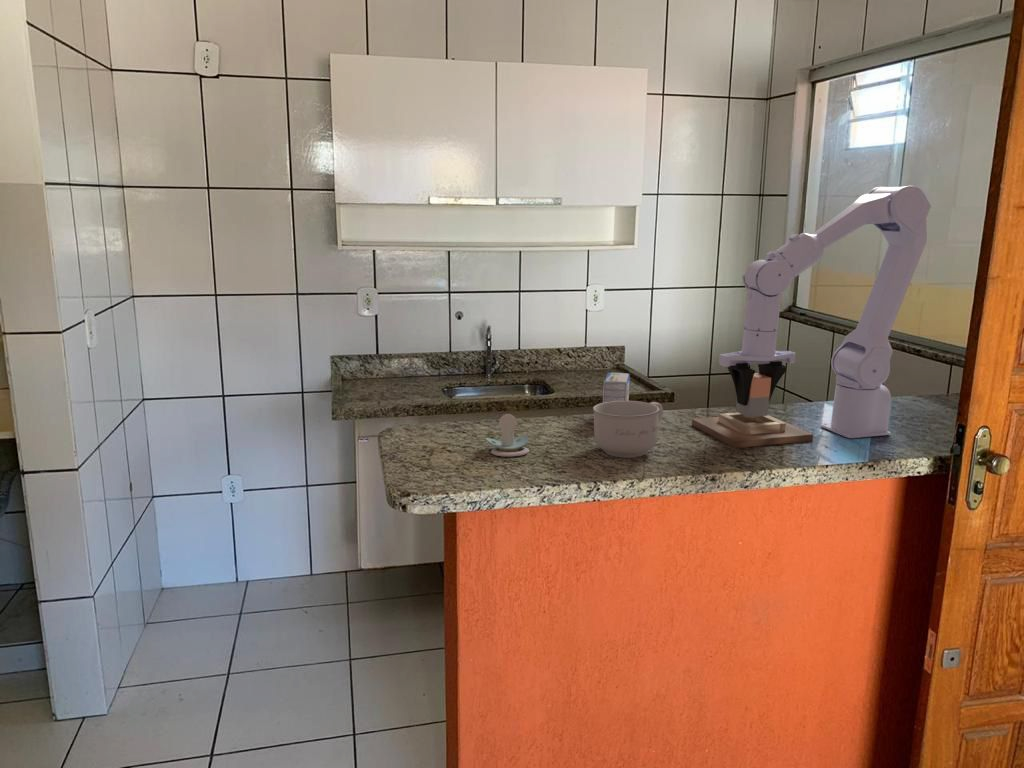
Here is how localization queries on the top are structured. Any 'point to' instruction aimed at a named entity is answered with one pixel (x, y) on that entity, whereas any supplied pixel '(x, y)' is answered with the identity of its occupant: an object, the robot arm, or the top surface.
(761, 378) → the square peg
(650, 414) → the teacup
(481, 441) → the top surface
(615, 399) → the medicine box
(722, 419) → the socket board
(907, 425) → the top surface
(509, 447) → the pacifier
